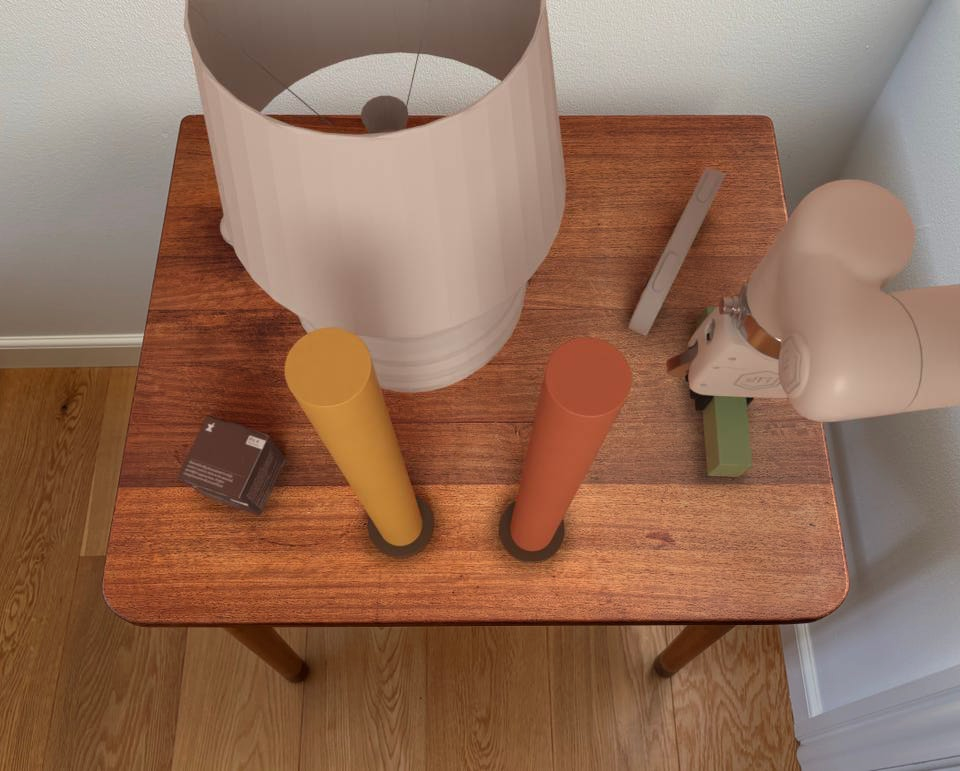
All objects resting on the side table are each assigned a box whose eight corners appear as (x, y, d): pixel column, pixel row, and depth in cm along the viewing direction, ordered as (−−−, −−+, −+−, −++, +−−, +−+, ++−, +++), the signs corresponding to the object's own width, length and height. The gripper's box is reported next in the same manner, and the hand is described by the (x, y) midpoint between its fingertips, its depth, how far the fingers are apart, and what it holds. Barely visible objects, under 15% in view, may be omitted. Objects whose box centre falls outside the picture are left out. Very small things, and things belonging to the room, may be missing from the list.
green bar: (725, 325, 78) (737, 307, 74) (738, 477, 72) (753, 465, 69) (695, 324, 78) (706, 305, 74) (707, 476, 72) (719, 464, 69)
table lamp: (463, 485, 72) (452, 273, 35) (243, 364, 76) (23, 59, 39) (582, 279, 80) (677, -72, 43) (377, 180, 84) (301, -217, 47)
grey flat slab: (691, 197, 84) (712, 147, 76) (710, 205, 84) (734, 156, 76) (619, 339, 78) (635, 301, 70) (640, 349, 77) (658, 312, 70)
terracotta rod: (563, 565, 69) (656, 441, 34) (497, 562, 69) (521, 435, 34) (563, 499, 72) (651, 319, 36) (499, 497, 72) (524, 315, 36)
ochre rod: (431, 559, 69) (387, 430, 34) (366, 557, 70) (253, 425, 34) (435, 494, 72) (398, 310, 36) (371, 492, 72) (271, 305, 36)
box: (202, 496, 71) (173, 476, 65) (231, 438, 74) (206, 412, 67) (261, 517, 71) (238, 499, 64) (288, 458, 73) (269, 435, 66)
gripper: (682, 352, 57) (634, 430, 74) (903, 360, 57) (804, 437, 74) (676, 264, 60) (632, 359, 77) (887, 272, 59) (795, 365, 77)
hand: (717, 396), depth 75 cm, fingers closed on green bar, 3 cm apart
